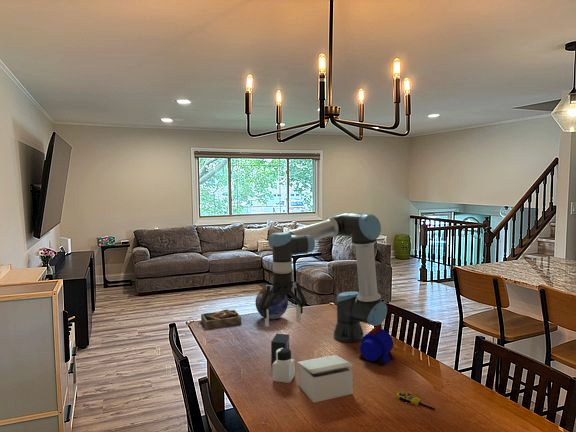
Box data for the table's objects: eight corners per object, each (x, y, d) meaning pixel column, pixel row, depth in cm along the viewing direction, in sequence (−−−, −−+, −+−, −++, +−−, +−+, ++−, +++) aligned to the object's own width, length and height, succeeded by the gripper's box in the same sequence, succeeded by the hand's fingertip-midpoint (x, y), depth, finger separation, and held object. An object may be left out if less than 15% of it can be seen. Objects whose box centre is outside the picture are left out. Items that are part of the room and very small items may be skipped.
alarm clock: (394, 359, 188) (394, 326, 187) (380, 368, 179) (380, 333, 178) (370, 352, 197) (370, 320, 195) (356, 360, 188) (356, 327, 186)
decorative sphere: (252, 323, 239) (251, 288, 238) (260, 313, 259) (259, 280, 257) (285, 325, 236) (284, 289, 234) (290, 314, 256) (290, 281, 254)
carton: (334, 378, 170) (334, 356, 170) (352, 394, 157) (352, 370, 157) (298, 385, 165) (298, 363, 164) (313, 402, 152) (313, 378, 151)
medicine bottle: (294, 375, 173) (294, 347, 172) (289, 383, 166) (288, 354, 166) (278, 373, 175) (278, 345, 175) (272, 381, 169) (272, 351, 168)
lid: (335, 356, 170) (335, 354, 170) (353, 366, 157) (353, 364, 157) (297, 363, 164) (297, 361, 164) (312, 373, 151) (312, 372, 151)
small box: (285, 366, 183) (284, 342, 182) (270, 364, 184) (270, 341, 183) (290, 356, 193) (289, 333, 192) (276, 355, 194) (275, 333, 194)
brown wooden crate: (238, 320, 244) (237, 312, 244) (215, 328, 233) (214, 319, 232) (226, 316, 252) (226, 308, 252) (203, 323, 241) (203, 315, 240)
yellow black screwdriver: (400, 389, 158) (438, 403, 147) (400, 394, 158) (438, 408, 147) (393, 393, 154) (432, 408, 144) (393, 399, 154) (432, 414, 144)
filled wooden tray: (234, 316, 253) (234, 309, 253) (241, 323, 239) (241, 316, 239) (201, 320, 246) (201, 313, 245) (206, 328, 232) (205, 321, 231)
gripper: (307, 267, 176) (307, 317, 177) (249, 272, 167) (250, 325, 168) (314, 270, 169) (315, 322, 170) (255, 276, 160) (256, 331, 161)
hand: (283, 323), depth 169 cm, fingers open, 13 cm apart
